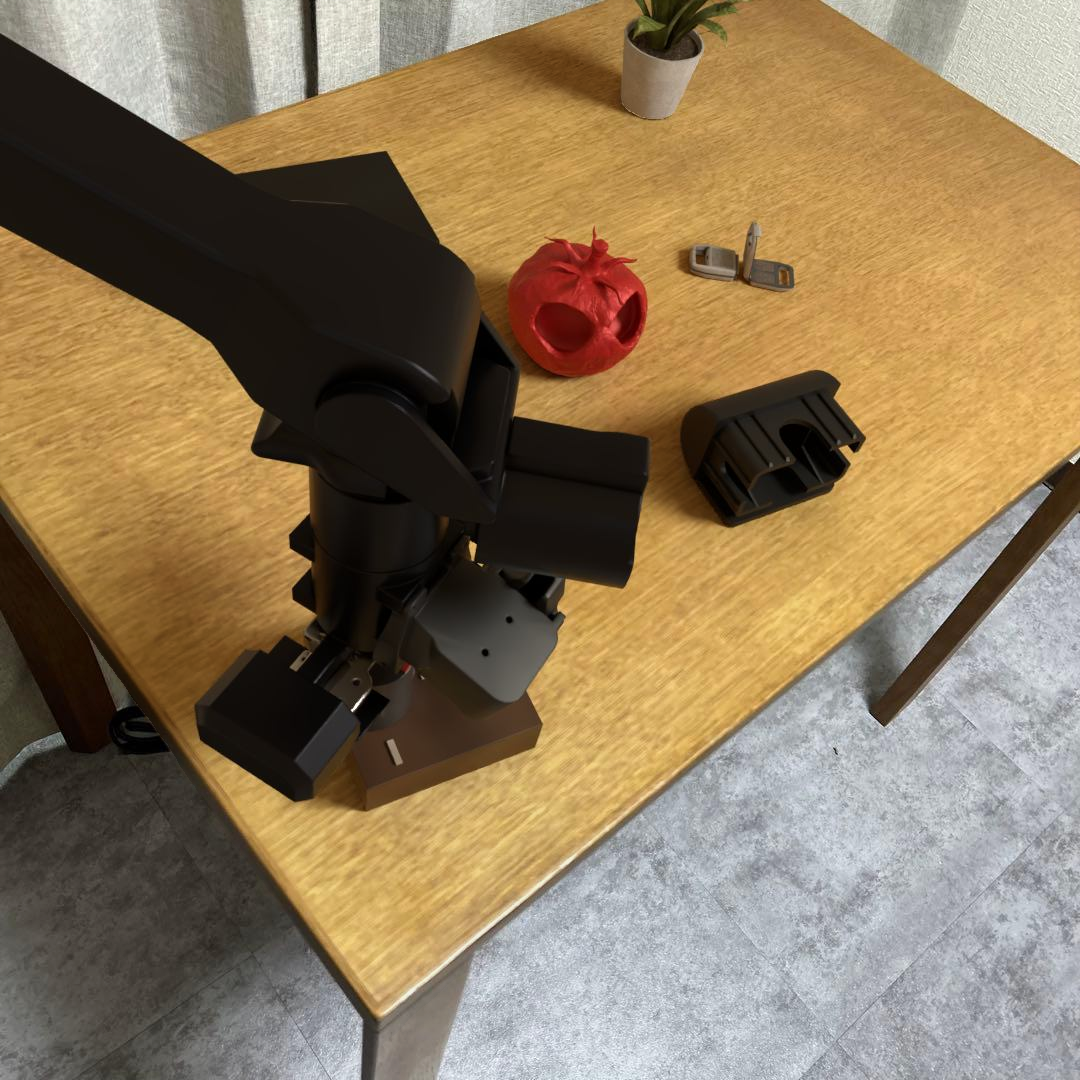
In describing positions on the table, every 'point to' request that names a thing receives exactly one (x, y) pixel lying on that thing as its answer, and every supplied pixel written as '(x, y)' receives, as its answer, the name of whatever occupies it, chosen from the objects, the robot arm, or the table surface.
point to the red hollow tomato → (576, 307)
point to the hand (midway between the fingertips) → (369, 690)
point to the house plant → (665, 52)
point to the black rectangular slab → (349, 187)
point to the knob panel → (435, 744)
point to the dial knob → (391, 693)
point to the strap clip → (727, 264)
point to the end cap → (769, 446)
